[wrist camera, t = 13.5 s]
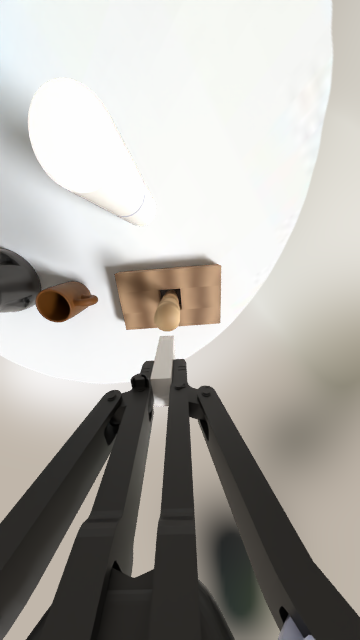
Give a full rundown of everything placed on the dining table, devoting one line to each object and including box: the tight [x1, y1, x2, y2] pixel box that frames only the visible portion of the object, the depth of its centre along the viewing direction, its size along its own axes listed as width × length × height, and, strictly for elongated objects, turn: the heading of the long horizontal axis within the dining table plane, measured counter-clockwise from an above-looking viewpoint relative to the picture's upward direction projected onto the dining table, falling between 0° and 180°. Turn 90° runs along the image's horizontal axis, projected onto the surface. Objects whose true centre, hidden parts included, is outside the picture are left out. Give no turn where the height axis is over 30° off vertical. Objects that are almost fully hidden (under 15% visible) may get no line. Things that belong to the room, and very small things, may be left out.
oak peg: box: [154, 290, 180, 331], centre depth 37 cm, size 5×5×16 cm
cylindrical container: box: [28, 78, 156, 226], centre depth 26 cm, size 7×7×25 cm
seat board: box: [114, 264, 221, 330], centre depth 43 cm, size 24×14×4 cm, turn 94°
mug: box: [35, 281, 98, 322], centre depth 40 cm, size 12×8×9 cm, turn 95°
